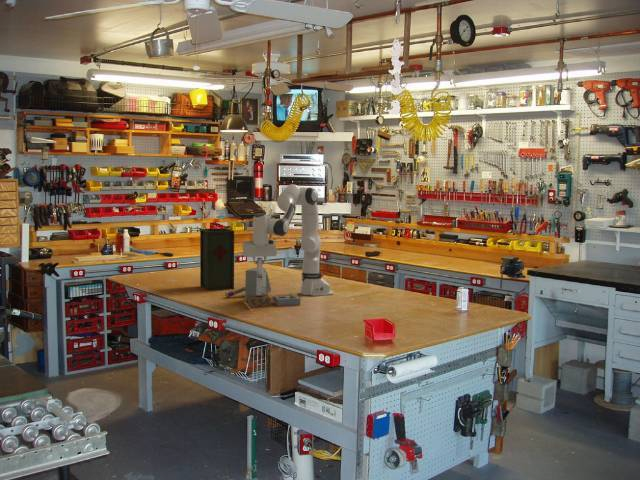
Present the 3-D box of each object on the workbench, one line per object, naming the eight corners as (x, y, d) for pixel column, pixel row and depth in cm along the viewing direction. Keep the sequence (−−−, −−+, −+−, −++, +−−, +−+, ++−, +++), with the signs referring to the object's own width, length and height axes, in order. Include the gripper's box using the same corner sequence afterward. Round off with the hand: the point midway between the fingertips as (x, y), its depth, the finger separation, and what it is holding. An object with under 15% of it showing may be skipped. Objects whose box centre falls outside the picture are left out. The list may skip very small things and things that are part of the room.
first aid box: (225, 284, 460) (226, 228, 456) (234, 289, 444) (234, 230, 439) (200, 286, 452) (200, 228, 448) (207, 290, 436) (207, 231, 431)
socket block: (296, 303, 401) (296, 295, 401) (300, 306, 392) (300, 298, 391) (273, 304, 397) (274, 296, 397) (277, 307, 388) (277, 299, 387)
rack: (267, 304, 396) (267, 294, 396) (270, 307, 387) (270, 298, 386) (247, 305, 393) (248, 295, 392) (250, 308, 383) (250, 298, 383)
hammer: (225, 285, 408) (266, 270, 423) (220, 283, 415) (261, 268, 430) (231, 308, 412) (271, 292, 427) (226, 305, 418) (266, 290, 433)
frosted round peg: (261, 277, 389) (261, 257, 389) (263, 277, 386) (262, 257, 386) (256, 277, 388) (256, 257, 388) (257, 278, 385) (257, 257, 385)
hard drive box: (256, 303, 399) (256, 271, 397) (244, 302, 401) (244, 270, 399) (266, 298, 413) (266, 267, 411) (255, 297, 416) (255, 266, 414)
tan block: (294, 302, 398) (294, 292, 398) (296, 303, 393) (296, 293, 393) (290, 302, 397) (290, 292, 397) (292, 303, 393) (292, 294, 392)
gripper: (243, 241, 379) (243, 265, 381) (277, 241, 386) (277, 264, 387) (241, 240, 385) (241, 263, 387) (274, 240, 392) (274, 262, 393)
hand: (259, 264), depth 387 cm, fingers closed on frosted round peg, 3 cm apart
